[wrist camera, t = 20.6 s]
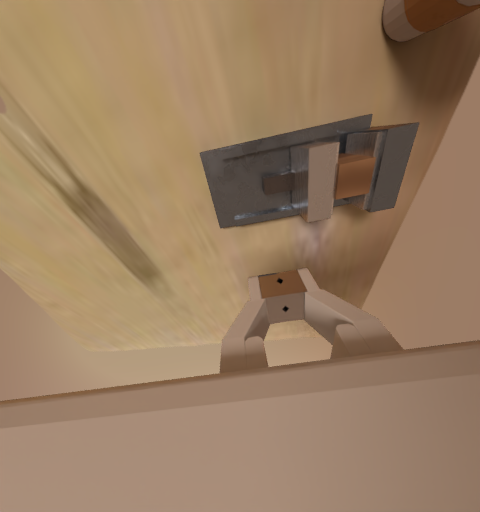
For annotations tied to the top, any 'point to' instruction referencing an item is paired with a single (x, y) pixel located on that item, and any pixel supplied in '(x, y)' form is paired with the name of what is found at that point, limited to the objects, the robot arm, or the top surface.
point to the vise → (279, 160)
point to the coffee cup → (422, 15)
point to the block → (353, 175)
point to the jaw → (308, 179)
